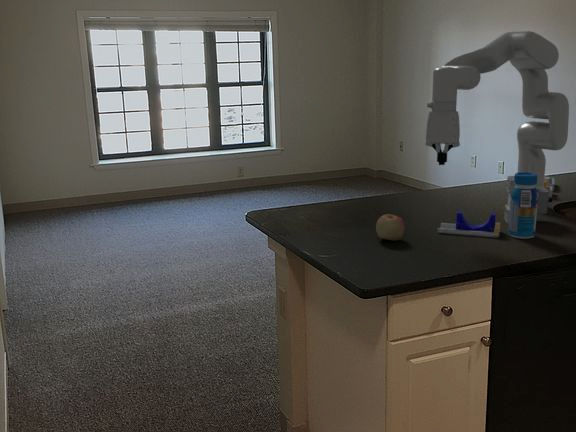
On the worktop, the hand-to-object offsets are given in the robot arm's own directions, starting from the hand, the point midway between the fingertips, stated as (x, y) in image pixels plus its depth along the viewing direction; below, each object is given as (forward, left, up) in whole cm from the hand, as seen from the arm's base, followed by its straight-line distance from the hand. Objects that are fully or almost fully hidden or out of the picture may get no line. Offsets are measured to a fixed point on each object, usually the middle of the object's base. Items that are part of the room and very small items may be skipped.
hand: (441, 164), depth 205 cm
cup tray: (-78, +29, -22) cm, 86 cm away
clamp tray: (-62, +27, -22) cm, 71 cm away
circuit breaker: (-20, +27, -22) cm, 40 cm away
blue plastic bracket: (-1, +12, -22) cm, 25 cm away
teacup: (-76, +31, -22) cm, 85 cm away
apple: (+16, -13, -22) cm, 30 cm away
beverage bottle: (-1, +26, -22) cm, 34 cm away
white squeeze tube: (0, +10, -22) cm, 24 cm away
